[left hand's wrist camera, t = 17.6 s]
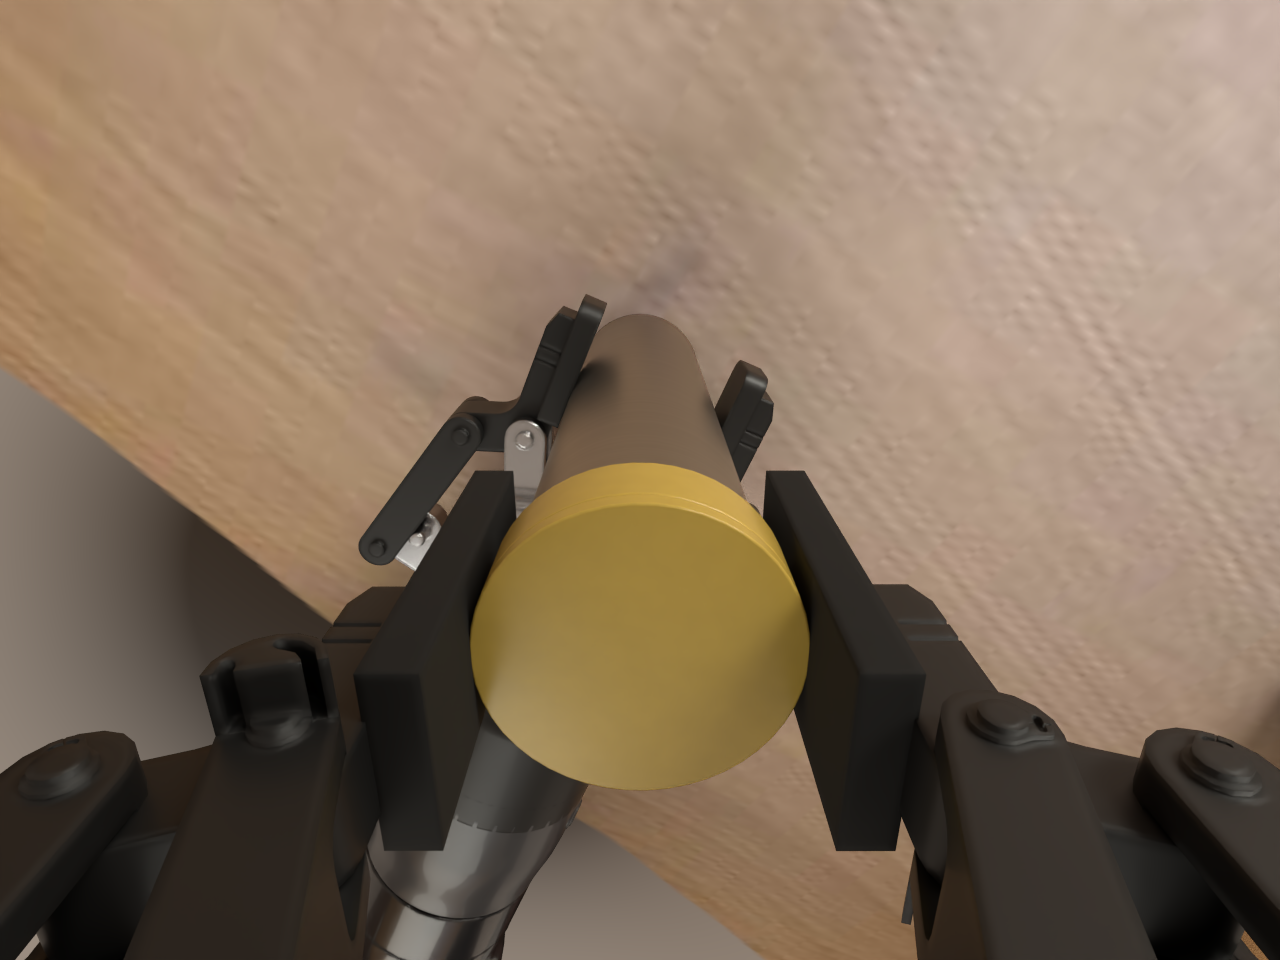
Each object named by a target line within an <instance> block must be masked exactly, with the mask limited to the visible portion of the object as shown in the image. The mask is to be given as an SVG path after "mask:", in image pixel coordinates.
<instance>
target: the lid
mask: <svg viewBox="0 0 1280 960" xmlns="http://www.w3.org/2000/svg"><path fill="white" fill-rule="evenodd" d="M809 647H810V631H809V625H808V620H807V614H806V611H805V609H804V606H803V603H802V600H801V597H800V595H799V592H798V590H797V587H796V585H795V582H794V580H793V577H792V575H791V572H790V570H789V567H788V565H787V562H786V560H785V557H784V555H783V552H782V550H781V547H780V545H779V543H778V541H777V540H776V538H775V536H774V534H773V532H772V530H771V529H770V527H769V526H768V525H767V523H766V522H765V521H764V519H763V518H762V517H761V515H760V514H759V513H758V512H757V511H756V510H755V509H754V508H753V507H752V506H751V505H750V504H749V503H748V502H747V501H746V500H744V499H743V498H742V497H741V496H739V495H738V494H737V493H735V492H734V491H733V490H731V489H730V488H728V487H726V486H725V485H723V484H721V483H719V482H718V481H716V480H714V479H712V478H709V477H707V476H705V475H702V474H700V473H698V472H695V471H691V470H688V469H684V468H681V467H677V466H672V465H665V464H658V463H635V462H632V463H623V464H613V465H608V466H604V467H599V468H595V469H591V470H588V471H585V472H583V473H580V474H577V475H574V476H572V477H570V478H568V479H566V480H564V481H562V482H560V483H558V484H556V485H555V486H553V487H552V488H550V489H549V490H547V491H546V492H544V493H543V494H542V495H540V496H539V497H537V498H536V499H535V500H534V501H533V502H532V503H531V504H530V505H529V506H528V507H527V508H525V509H524V510H523V512H522V513H521V514H520V515H519V516H518V518H517V519H516V520H515V521H514V523H513V524H512V525H511V527H510V528H509V530H508V532H507V534H506V535H505V537H504V539H503V540H502V542H501V545H500V547H499V550H498V552H497V555H496V557H495V559H494V562H493V564H492V567H491V569H490V572H489V574H488V577H487V579H486V582H485V584H484V587H483V589H482V592H481V594H480V597H479V599H478V602H477V604H476V607H475V610H474V614H473V618H472V622H471V627H470V652H471V662H472V671H473V677H474V682H475V685H476V687H477V690H478V692H479V695H480V698H481V700H482V702H483V704H484V706H485V707H486V709H487V711H488V713H489V714H490V716H491V718H492V719H493V720H494V722H495V723H496V724H497V726H498V727H499V728H500V729H501V731H502V732H503V733H504V734H505V735H506V736H507V737H508V738H509V739H510V740H511V741H512V742H513V743H514V744H515V745H516V746H517V747H518V748H519V749H521V750H522V751H523V752H525V753H526V754H527V755H528V756H530V757H531V758H532V759H534V760H536V761H537V762H539V763H541V764H542V765H544V766H546V767H547V768H549V769H551V770H553V771H555V772H558V773H560V774H562V775H564V776H566V777H569V778H572V779H575V780H578V781H581V782H584V783H587V784H591V785H596V786H600V787H605V788H612V789H621V790H646V791H647V790H658V789H668V788H674V787H679V786H684V785H689V784H692V783H695V782H699V781H702V780H705V779H708V778H710V777H713V776H715V775H718V774H720V773H722V772H725V771H727V770H728V769H730V768H732V767H734V766H736V765H737V764H739V763H741V762H743V761H744V760H745V759H747V758H748V757H750V756H751V755H752V754H754V753H755V752H757V751H758V750H759V749H760V748H761V747H762V746H763V745H765V744H766V743H767V742H768V741H769V740H770V739H771V738H772V737H773V736H774V735H775V734H776V732H777V731H778V730H779V729H780V728H781V726H782V725H783V724H784V723H785V721H786V720H787V718H788V717H789V715H790V714H791V712H792V710H793V709H794V707H795V705H796V703H797V701H798V699H799V696H800V694H801V692H802V690H803V687H804V683H805V680H806V676H807V667H808V657H809Z"/></svg>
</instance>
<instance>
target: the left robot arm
mask: <svg viewBox="0 0 1280 960" xmlns="http://www.w3.org/2000/svg"><path fill="white" fill-rule="evenodd" d="M516 519H517V517H516V503H515V488H514V474H513V471H475V472H474V474H473V475H472V477H471V479H470V480H469V482H468V484H467V485H466V487H465V489H464V490H463V492H462V494H461V495H460V497H459V499H458V500H457V502H456V504H455V505H454V507H453V509H452V510H451V512H450V514H449V515H448V517H447V519H446V520H445V522H444V524H443V525H442V527H441V529H440V530H439V532H438V534H437V535H436V537H435V539H434V540H433V542H432V544H431V545H430V547H429V549H428V550H427V552H426V554H425V555H424V557H423V559H422V560H421V562H420V564H419V565H418V567H417V569H416V570H415V572H414V574H413V575H412V577H411V579H410V580H409V582H408V584H407V585H406V587H371V588H370V589H368V590H367V591H365V592H364V593H362V594H361V595H359V596H358V597H356V598H355V599H353V600H352V601H350V602H349V603H348V604H347V605H346V606H345V608H344V609H343V610H342V612H341V613H340V615H339V616H338V617H337V619H336V620H335V622H334V625H333V627H330V629H329V630H328V631H327V633H326V634H325V636H324V637H323V638H322V642H321V641H320V640H319V639H318V638H316V637H312V636H308V635H303V634H276V635H272V636H267V637H263V638H258V639H254V640H251V641H249V642H246V643H244V644H241V645H239V646H237V647H234V648H232V649H230V650H228V651H227V652H225V653H224V654H222V655H221V656H219V657H218V658H216V659H215V660H213V661H212V662H211V663H210V664H209V665H208V666H207V667H206V669H205V670H204V671H203V672H202V674H201V675H200V680H201V684H202V687H203V691H204V695H205V698H206V702H207V706H208V709H209V713H210V717H211V720H212V724H213V728H214V732H215V735H216V737H215V739H214V742H213V744H212V745H209V746H206V747H202V748H198V749H195V750H190V751H186V752H181V753H177V754H172V755H167V756H163V757H158V758H153V759H149V760H144V761H140V758H139V754H138V751H137V748H136V745H135V742H134V741H132V740H131V739H130V738H128V737H127V736H126V735H125V734H123V733H116V732H109V731H100V732H91V733H84V734H78V735H75V736H71V737H67V738H65V739H60V740H58V741H55V742H52V743H50V744H48V745H46V746H44V747H42V748H40V749H38V750H36V751H34V752H32V753H30V754H28V755H26V756H24V757H22V758H21V759H20V760H18V761H17V762H16V763H14V764H13V765H12V766H10V767H9V768H8V769H6V770H5V771H4V772H2V773H1V774H0V960H15V959H16V958H17V957H18V956H19V954H20V953H21V952H22V951H23V949H24V948H25V947H26V946H27V944H28V943H29V942H30V941H31V939H32V938H33V937H34V936H35V934H37V936H38V938H39V941H40V942H39V943H38V945H37V946H36V947H35V948H34V950H33V951H32V952H31V954H30V955H29V956H28V957H27V958H26V959H25V960H362V959H363V949H364V939H365V929H366V919H367V909H368V899H369V889H370V872H369V866H368V860H367V855H366V848H367V845H368V843H369V841H370V838H371V836H372V833H373V831H374V829H375V826H376V824H377V822H378V819H379V824H380V830H381V836H382V841H383V847H384V851H443V850H444V847H445V843H446V840H447V837H448V833H449V830H450V827H451V823H452V820H453V817H454V813H455V810H456V807H457V803H458V800H459V797H460V793H461V790H462V787H463V783H464V780H465V777H466V773H467V770H468V767H469V763H470V760H471V757H472V753H473V750H474V747H475V743H476V740H477V737H478V733H479V730H480V727H481V724H482V720H483V717H484V714H485V710H486V707H485V706H484V704H483V702H482V700H481V698H480V695H479V692H478V690H477V687H476V685H475V682H474V677H473V671H472V662H471V652H470V627H471V622H472V618H473V614H474V610H475V607H476V604H477V602H478V599H479V597H480V594H481V592H482V589H483V587H484V584H485V582H486V579H487V577H488V574H489V572H490V569H491V567H492V564H493V562H494V559H495V557H496V555H497V552H498V550H499V547H500V545H501V542H502V540H503V539H504V537H505V535H506V534H507V532H508V530H509V528H510V527H511V525H512V524H513V523H514V521H515V520H516ZM763 519H764V521H765V522H766V523H767V525H768V526H769V527H770V529H771V530H772V532H773V534H774V536H775V538H776V540H777V541H778V543H779V545H780V547H781V550H782V552H783V555H784V557H785V560H786V562H787V565H788V567H789V570H790V572H791V575H792V577H793V580H794V582H795V585H796V587H797V590H798V592H799V595H800V597H801V600H802V603H803V606H804V609H805V611H806V614H807V620H808V625H809V631H810V647H809V657H808V667H807V676H806V680H805V683H804V687H803V690H802V692H801V694H800V696H799V699H798V701H797V703H796V705H795V707H794V712H795V715H796V718H797V722H798V725H799V728H800V732H801V735H802V738H803V742H804V745H805V748H806V752H807V755H808V758H809V762H810V765H811V768H812V772H813V775H814V778H815V782H816V785H817V788H818V791H819V795H820V798H821V801H822V805H823V808H824V811H825V815H826V818H827V821H828V825H829V828H830V831H831V835H832V838H833V841H834V845H835V848H836V851H895V850H896V845H897V839H898V833H899V828H900V822H901V817H902V819H903V821H904V824H905V826H906V829H907V831H908V833H909V836H910V838H911V840H912V843H913V845H914V848H915V850H914V855H913V860H912V866H911V871H910V876H909V881H908V887H907V892H906V897H905V902H904V908H903V914H902V921H901V923H905V924H910V925H911V920H912V915H913V917H914V927H915V937H916V947H917V957H918V960H1258V959H1257V958H1256V957H1255V956H1254V955H1253V954H1252V952H1251V951H1250V950H1249V949H1248V947H1247V946H1246V945H1245V943H1244V942H1243V941H1242V940H1241V937H1242V935H1243V932H1244V930H1245V931H1246V932H1247V933H1248V935H1249V936H1250V937H1251V938H1252V940H1253V941H1254V942H1255V943H1256V945H1257V946H1258V947H1259V948H1260V950H1261V951H1262V952H1263V953H1264V954H1265V956H1266V957H1267V958H1268V959H1269V960H1280V770H1279V769H1278V768H1276V767H1275V766H1274V765H1272V764H1271V763H1270V762H1268V761H1267V760H1265V759H1264V758H1263V757H1261V756H1260V755H1259V754H1257V753H1255V752H1253V751H1251V750H1249V749H1247V748H1245V747H1243V746H1241V745H1239V744H1237V743H1235V742H1234V741H1232V740H1229V739H1226V738H1224V737H1221V736H1216V735H1214V734H1211V733H1207V732H1203V731H1198V730H1190V729H1183V728H1170V729H1163V730H1157V731H1155V732H1154V733H1153V734H1152V735H1150V736H1149V737H1148V738H1147V739H1146V740H1145V743H1144V746H1143V750H1142V753H1141V756H1140V758H1136V757H1132V756H1127V755H1122V754H1118V753H1113V752H1108V751H1104V750H1099V749H1094V748H1090V747H1085V746H1082V745H1078V744H1074V743H1071V742H1067V741H1066V738H1065V736H1064V734H1063V733H1062V731H1061V730H1060V729H1059V727H1058V726H1057V724H1056V723H1055V721H1054V720H1053V719H1051V718H1050V717H1049V716H1048V715H1046V714H1045V713H1044V712H1042V711H1041V710H1040V709H1038V708H1037V707H1036V706H1034V705H1032V704H1030V703H1027V702H1025V701H1023V700H1021V699H1019V698H1017V697H1015V696H1012V695H1008V694H1004V693H1000V692H998V691H997V690H996V688H995V687H994V685H993V684H992V683H991V681H990V680H989V679H988V677H987V676H986V674H985V673H984V672H983V670H982V669H981V668H980V666H979V665H978V663H977V662H976V661H975V659H974V658H973V657H972V655H971V654H970V652H969V651H968V650H967V648H966V647H965V645H964V644H963V643H962V641H958V636H957V634H956V633H955V632H954V630H953V629H952V628H951V626H950V625H949V624H947V623H946V619H945V618H944V616H943V615H942V614H941V612H940V611H939V610H938V608H937V607H936V605H935V604H934V603H933V601H931V600H930V599H928V598H927V597H925V596H924V595H923V594H921V593H920V592H918V591H917V590H915V589H914V588H912V587H911V586H909V585H908V584H872V583H871V581H870V579H869V578H868V576H867V574H866V573H865V571H864V569H863V568H862V566H861V564H860V563H859V561H858V559H857V558H856V556H855V554H854V553H853V551H852V549H851V548H850V546H849V544H848V543H847V541H846V539H845V538H844V536H843V534H842V533H841V531H840V529H839V528H838V526H837V524H836V523H835V521H834V519H833V518H832V516H831V515H830V513H829V511H828V510H827V508H826V506H825V505H824V503H823V501H822V500H821V498H820V496H819V495H818V493H817V491H816V490H815V488H814V486H813V485H812V483H811V481H810V480H809V478H808V476H807V475H806V473H805V471H766V482H765V496H764V511H763Z"/></svg>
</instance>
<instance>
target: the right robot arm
mask: <svg viewBox="0 0 1280 960" xmlns="http://www.w3.org/2000/svg"><path fill="white" fill-rule="evenodd" d="M606 305H607V303H606V302H603V301H601V300H599V299H596V298H594V297H592V296H589V295H587V294H586V295H585V297H584V299H583V301H582V303H581V306H580V308H579V311H578V312H577V311H575V310H572V309H570V308H568V307H565V306H563V307H562V308H561V309H560V310H559V312H558V313H557V314H556V315H555V316H554V317H553V318H552V319H551V320H550V322H549V323H548V325H547V326H546V328H545V331H544V334H543V336H542V339H541V342H540V345H539V347H538V350H537V352H536V355H535V358H534V361H533V363H532V366H531V369H530V371H529V374H528V377H527V379H526V382H525V385H524V387H523V390H522V393H521V395H520V396H519V397H518V398H517V399H515V400H512V401H508V402H495V401H488V400H487V399H485V398H483V397H479V396H474V397H470V398H468V399H466V400H465V401H464V402H463V403H462V404H461V405H460V406H459V407H458V409H457V410H456V411H455V412H454V413H453V414H452V415H451V417H450V418H449V419H448V420H447V421H446V423H445V424H444V425H443V426H442V428H441V429H440V430H439V432H438V433H437V435H436V436H435V437H434V439H433V440H432V441H431V443H430V444H429V446H428V447H427V448H426V450H425V451H424V452H423V454H422V455H421V456H420V458H419V459H418V461H417V462H416V463H415V465H414V466H413V467H412V469H411V470H410V472H409V473H408V474H407V476H406V477H405V478H404V480H403V481H402V483H401V484H400V485H399V487H398V488H397V489H396V491H395V492H394V494H393V495H392V496H391V498H390V499H389V500H388V502H387V503H386V504H385V506H384V507H383V509H382V510H381V511H380V513H379V514H378V515H377V517H376V518H375V520H374V521H373V522H372V524H371V525H370V526H369V528H368V529H367V531H366V532H365V533H364V535H363V536H362V537H361V539H360V541H359V551H360V554H361V555H362V557H363V558H364V559H365V560H366V561H368V562H369V563H372V564H374V565H386V564H388V563H390V562H392V561H393V560H394V558H395V559H397V560H398V561H400V562H401V563H403V564H404V565H406V566H407V567H409V568H411V569H412V570H414V571H415V570H416V569H417V567H418V565H419V564H420V562H421V560H422V559H423V557H424V555H425V554H426V552H427V550H428V549H429V547H430V545H431V544H432V542H433V540H434V539H435V537H436V535H437V534H438V532H439V530H440V529H441V527H442V525H443V524H444V522H445V520H446V519H447V517H448V515H447V513H446V511H445V510H444V509H443V508H442V506H441V505H439V504H437V502H438V500H439V499H440V498H441V496H442V495H443V494H444V492H445V491H446V490H447V488H448V487H449V486H450V484H451V483H452V482H453V480H454V479H455V478H456V476H457V475H458V474H459V473H460V471H461V470H462V469H463V467H464V466H465V465H466V463H467V462H468V461H469V459H470V458H471V457H472V455H473V454H474V453H475V451H489V452H504V471H513V474H514V488H515V503H516V517H517V518H518V516H519V515H520V514H521V513H522V512H523V510H524V509H525V508H527V507H528V506H529V505H530V504H531V503H532V502H533V499H534V497H535V494H536V491H537V488H538V485H539V482H540V480H541V477H542V474H543V471H544V468H545V466H546V463H547V460H548V457H549V454H550V451H551V449H552V446H553V429H554V427H557V428H558V427H559V424H560V422H561V419H562V417H563V414H564V412H565V409H566V406H567V403H568V400H569V398H570V396H571V394H572V392H573V389H574V387H575V384H576V382H577V379H578V377H579V374H580V372H581V369H582V367H583V364H584V362H585V359H586V357H587V354H588V351H589V349H590V346H591V344H592V341H593V339H594V336H595V334H596V331H597V329H598V326H599V324H600V321H601V319H602V316H603V314H604V311H605V308H606ZM767 383H768V379H767V377H766V375H765V374H764V373H763V371H762V370H761V369H760V368H758V367H756V366H753V365H751V364H749V363H746V362H744V361H742V360H740V361H739V362H738V363H737V364H736V366H735V367H734V369H733V371H732V373H731V375H730V378H729V380H728V382H727V384H726V386H725V388H724V390H723V392H722V394H721V396H720V398H719V400H718V403H717V405H716V407H715V409H714V410H715V412H716V415H717V418H718V421H719V424H720V427H721V429H722V432H723V435H724V438H725V441H726V444H727V446H728V449H729V452H730V455H731V458H732V461H733V463H734V466H735V469H736V472H737V475H738V478H739V481H740V482H741V480H742V478H743V476H744V474H745V472H746V470H747V468H748V466H749V465H750V463H751V461H752V459H753V457H754V455H755V453H756V451H757V448H758V447H759V445H760V443H761V441H762V439H763V436H764V435H765V433H766V431H767V430H768V428H769V426H770V424H771V422H772V416H773V406H774V403H773V401H772V400H771V398H770V397H769V395H768V394H767V392H766V391H765V390H766V387H767ZM749 504H750V503H749ZM750 505H751V506H752V507H753V508H754V509H755V510H756V511H757V512H758V513H759V510H758V509H757V508H756V507H755V506H754V505H752V504H750ZM759 514H760V513H759ZM587 786H588V784H587V783H584V782H581V781H578V780H575V779H572V778H569V777H566V776H564V775H562V774H560V773H558V772H555V771H553V770H551V769H549V768H547V767H546V766H544V765H542V764H541V763H539V762H537V761H536V760H534V759H532V758H531V757H530V756H528V755H527V754H526V753H525V752H523V751H522V750H521V749H519V748H518V747H517V746H516V745H515V744H514V743H513V742H512V741H511V740H510V739H509V738H508V737H507V736H506V735H505V734H504V733H503V732H502V731H501V729H500V728H499V727H498V726H497V724H496V723H495V722H494V720H493V719H492V718H491V716H490V714H489V713H488V711H487V709H486V710H485V714H484V717H483V720H482V724H481V727H480V730H479V733H478V737H477V740H476V743H475V747H474V750H473V753H472V757H471V760H470V763H469V767H468V770H467V773H466V777H465V780H464V783H463V787H462V790H461V793H460V797H459V800H458V803H457V807H456V810H455V813H454V817H453V820H452V823H451V827H450V830H449V833H448V837H447V840H446V843H445V847H444V850H443V851H384V847H383V841H382V836H381V830H380V824H379V819H378V822H377V824H376V826H375V829H374V831H373V833H372V836H371V838H370V841H369V843H368V845H367V848H366V855H367V860H368V866H369V872H370V889H369V899H368V909H367V919H366V929H365V939H364V949H363V959H362V960H501V959H502V953H503V947H504V938H505V931H506V930H507V928H508V926H509V923H510V921H511V919H512V918H513V916H514V914H515V912H516V910H517V908H518V906H519V904H520V902H521V900H522V898H523V896H524V894H525V892H526V890H527V888H528V886H529V884H530V882H531V881H532V879H533V877H534V876H535V875H536V873H537V872H538V871H539V869H540V868H541V867H542V866H543V864H544V863H545V862H546V861H547V859H548V858H549V856H550V855H551V854H552V852H553V850H554V849H555V847H556V845H557V843H558V842H559V840H560V838H561V837H562V835H563V833H564V831H565V829H567V827H568V826H570V825H571V823H572V822H573V820H574V818H575V816H576V814H577V812H578V809H579V807H580V805H581V802H582V796H583V794H584V792H585V790H586V788H587Z"/></svg>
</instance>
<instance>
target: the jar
mask: <svg viewBox="0 0 1280 960" xmlns="http://www.w3.org/2000/svg"><path fill="white" fill-rule="evenodd" d="M632 462H635V463H658V464H665V465H672V466H677V467H681V468H684V469H688V470H691V471H695V472H698V473H700V474H702V475H705V476H707V477H709V478H712V479H714V480H716V481H718V482H719V483H721V484H723V485H725V486H726V487H728V488H730V489H731V490H733V491H734V492H735V493H737V494H738V495H739V496H741V497H742V498H743V499H744V500H746V498H745V495H744V492H743V489H742V486H741V483H740V481H739V478H738V475H737V472H736V469H735V466H734V463H733V461H732V458H731V455H730V452H729V449H728V446H727V444H726V441H725V438H724V435H723V432H722V429H721V427H720V424H719V421H718V418H717V415H716V412H715V410H714V407H713V404H712V401H711V398H710V395H709V393H708V390H707V387H706V384H705V381H704V378H703V376H702V373H701V370H700V367H699V364H698V361H697V359H696V356H695V353H694V350H693V348H692V346H691V344H690V342H689V341H688V339H687V338H686V336H685V335H684V334H683V333H682V332H681V331H680V330H679V329H678V328H677V327H676V326H674V325H673V324H671V323H670V322H668V321H666V320H664V319H662V318H659V317H656V316H652V315H645V314H635V315H628V316H624V317H621V318H618V319H616V320H614V321H612V322H610V323H608V324H607V325H605V326H604V327H603V328H602V329H601V330H600V331H598V333H597V334H596V335H595V336H594V339H593V341H592V344H591V346H590V349H589V351H588V354H587V357H586V359H585V362H584V364H583V367H582V369H581V372H580V374H579V377H578V379H577V382H576V384H575V387H574V389H573V392H572V394H571V396H570V398H569V400H568V403H567V406H566V409H565V412H564V415H563V417H562V420H561V423H560V426H559V429H558V432H557V434H556V437H555V440H554V443H553V446H552V449H551V451H550V454H549V457H548V460H547V463H546V466H545V468H544V471H543V474H542V477H541V480H540V482H539V485H538V488H537V491H536V494H535V497H534V499H533V501H534V500H535V499H536V498H537V497H539V496H540V495H542V494H543V493H544V492H546V491H547V490H549V489H550V488H552V487H553V486H555V485H556V484H558V483H560V482H562V481H564V480H566V479H568V478H570V477H572V476H574V475H577V474H580V473H583V472H585V471H588V470H591V469H595V468H599V467H604V466H608V465H613V464H623V463H632ZM746 501H747V500H746Z"/></svg>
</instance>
